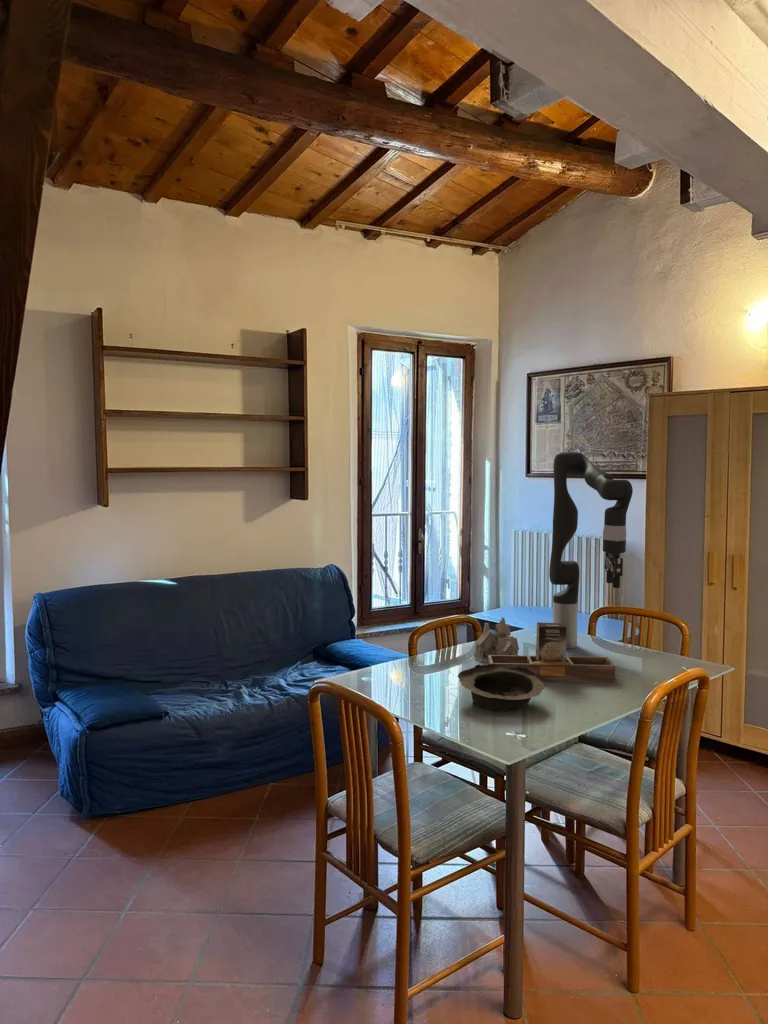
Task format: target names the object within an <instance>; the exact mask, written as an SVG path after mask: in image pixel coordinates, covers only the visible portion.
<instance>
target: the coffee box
mask: <svg viewBox="0 0 768 1024" xmlns="http://www.w3.org/2000/svg"><path fill="white" fill-rule="evenodd" d="M566 630H567V627H566V626H565V624H563V623H553V622H536V637H535V639H536V641H535V643H536V644H535V656H536V662H566V656H567V648H566Z"/></svg>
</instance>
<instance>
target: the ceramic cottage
mask: <svg viewBox="0 0 768 1024" xmlns="http://www.w3.org/2000/svg"><path fill="white" fill-rule="evenodd" d="M483 625H484V626H483V632H482V633H481V634H480V636H479V637H478V639H477V640H475V643H476V645H475V650H474V652H473V656H474V657H475V658H476V659H478V660H481V661H480V662H483V661H485V662H484V663H487V662H488V655H519V650H520V648H519V643H518V639H517V638H518V637H514V636H513V635H511V634H512V633H511V628H510V624H508V623H506V619H505V617H503V616H502V617H501V619H500V620H499V622H498V623H496V624H495V630H494V632H495V633H492V632H491V630H490V627H491V626H490V623H489V622H485V623H484V624H483ZM474 657H473V658H474ZM476 659H475V660H476ZM478 660H477V661H478Z"/></svg>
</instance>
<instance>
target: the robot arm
mask: <svg viewBox="0 0 768 1024" xmlns="http://www.w3.org/2000/svg"><path fill="white" fill-rule="evenodd" d="M567 477H569V478H570V477H583V478H584V481H585V484H586V485H587V486H589V488H592V489H593V490H595V491H596V492H597V493H598V495H599V496H600V498H602V499H603V500H605V501H616V502H615V504H614V505H612V506H610V507H608V508H605V510H604V522H603V523H604V525H603V531H602V552H604V553H605V556H604V570H605V573H606V577H605V578H606V581H605V582H606V583H607V584H612V588H613V589H620V586H621V581H620V580H621V578H622V577H623V575H624V573H623V571H624V570H623V569H624V565H623V564H624V563H623V562H624V558H622V557H621V556H620V555H621V554H624V553H626V550H627V549H626V548H627V512H628V509H629V507H630V503H631V500H632V497H633V494H634V493H633V491H634V490H633V486H632V483H631V482H630V481H629V480H628V479H614V477H613V476H612V475H611V474H610V473H608V472H606V471H604V470H602V469H600V468H599V467H597V466H596V465H595V464H594V463H592V461H591V460H590V459H588V457H586V456H585V455H584V454H582V453H581V452H577V451H569V452H565V451H564V452H557V453H556V454H555V456H554V459H553V488H554V489H553V490H554V493H553V496H554V497H553V512H552V514H553V515H552V541H551V542H552V543H551V552H550V562H549V571H548V573H549V574H548V576H549V580H550V583H551V584H552V585H554V586H558V585H559V586H560V585H561V586H564V585H566V587H565V588H564V589H562V590H561V591H559V592H556V593H554V594H553V595H552V596H553V597H552V623H563V624H565V626H566V627H567V630H566V649H575V648H577V646H578V607H579V605H578V602H579V601H578V599H579V598H578V597H579V588H580V587H579V584H580V566H579V564H578V562H577V561H575V560H562V557H563V553H564V551H565V548H566V547H567V546H568V544H569V542H570V541H571V540H572V538H573V537H574V535H575V533H576V531H578V530H577V529H578V523H579V522H578V521H579V509H578V508H577V506H576V504H575V502H574V500H573V498H572V496H571V495H570V493H569V489H568V483H567V481H568V480H567Z"/></svg>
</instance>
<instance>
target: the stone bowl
mask: <svg viewBox="0 0 768 1024" xmlns="http://www.w3.org/2000/svg"><path fill="white" fill-rule="evenodd" d="M457 678H458V679H459V682H460V683H461V686H462V687H464V688H465V689H467V690H468V691H470V693H471V698H472V701H473V703H474V705H476V706H478V707H479V708H483V709H484V708H485V709H488V710H491V711H493V712H496V713H497V712H509V711H510V712H515V711H517V710H518V709H520V708H523V707H525V706H526V705H528V703H530V701H531V699H532V698H535V697H537V696H540V695H541V693H542V691H543V690H545V684H544V681H540V680H539V679H538V678H536V675H535V674H534V672H532V671H530V670H528V669H527V668H522V667H517V668H516V667H514V668H504V667H500V666H496V665H495V666H494V665H493V664H492V665H489V664H488V663H487V664H485V665H484V664H479V663H478V664H477V665H474V667H470V668H469V669H468V668H467V669H465V670H462V671H460V672H458V674H457Z"/></svg>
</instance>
